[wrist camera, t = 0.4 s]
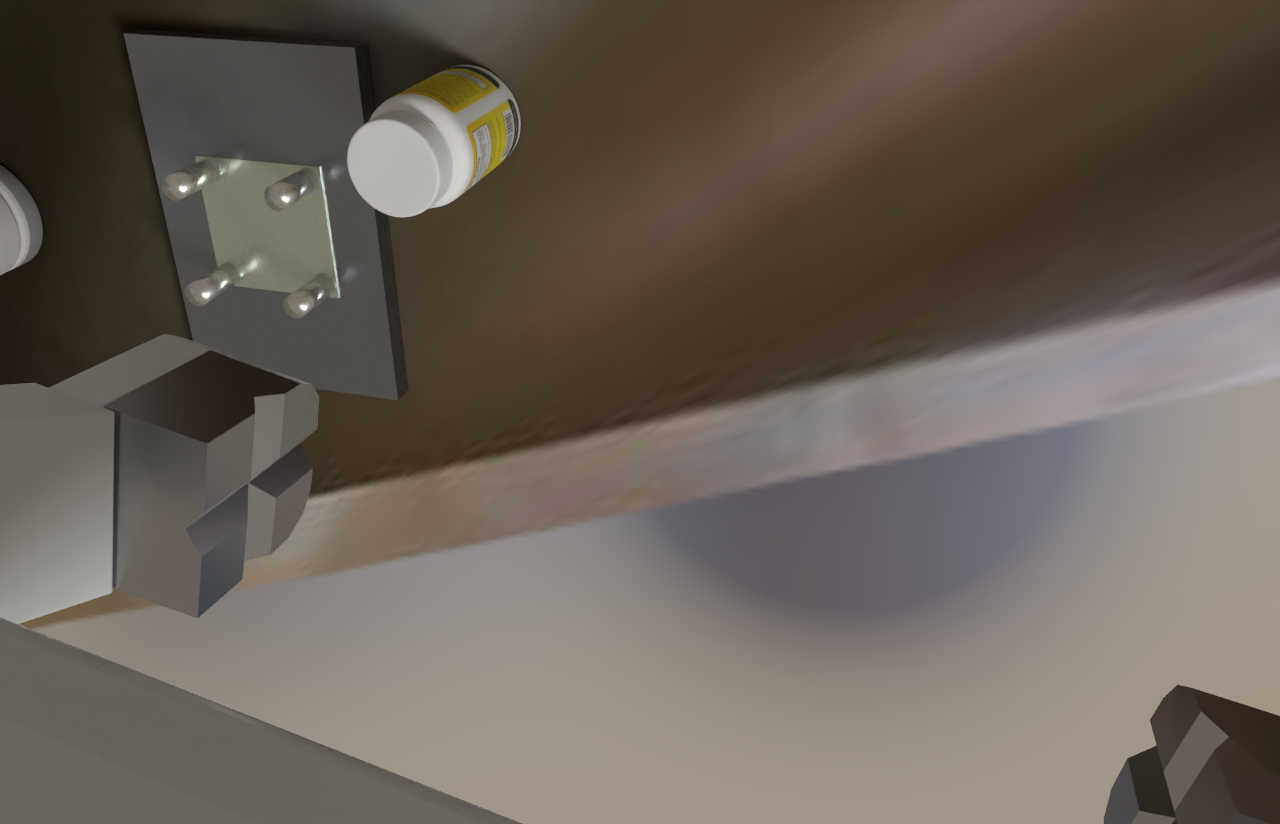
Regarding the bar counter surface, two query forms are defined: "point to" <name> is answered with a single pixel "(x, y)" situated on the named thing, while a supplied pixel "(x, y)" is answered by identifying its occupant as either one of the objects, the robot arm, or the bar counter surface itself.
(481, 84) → the supplement bottle
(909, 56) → the bar counter surface
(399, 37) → the bar counter surface
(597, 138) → the bar counter surface
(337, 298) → the grey fixture plate
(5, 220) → the travel mug
